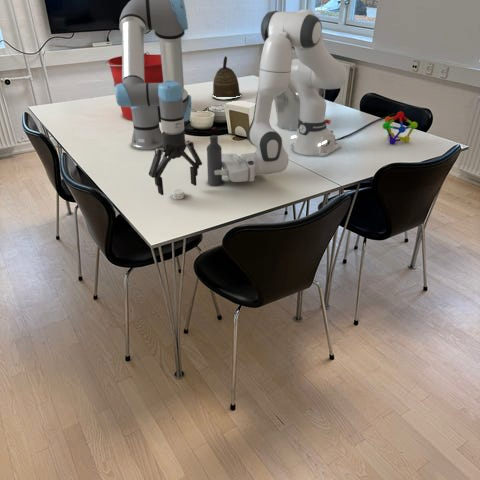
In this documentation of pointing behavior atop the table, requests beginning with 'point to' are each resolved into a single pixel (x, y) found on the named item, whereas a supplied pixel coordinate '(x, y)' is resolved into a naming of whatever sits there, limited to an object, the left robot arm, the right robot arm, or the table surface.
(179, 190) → the cap
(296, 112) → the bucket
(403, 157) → the table surface
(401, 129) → the educational toy
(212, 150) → the bottle
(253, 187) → the table surface
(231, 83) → the bell
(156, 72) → the bucket
